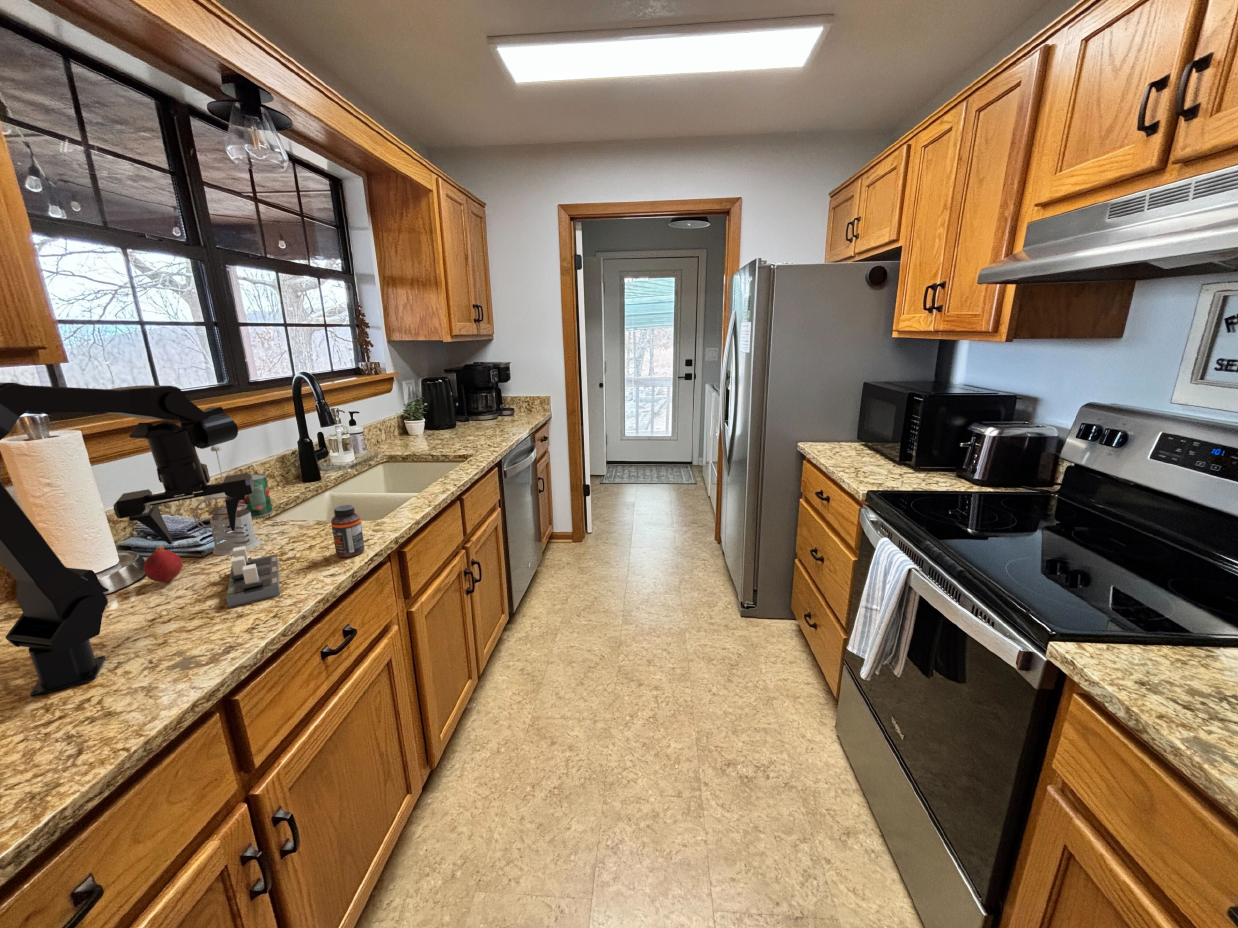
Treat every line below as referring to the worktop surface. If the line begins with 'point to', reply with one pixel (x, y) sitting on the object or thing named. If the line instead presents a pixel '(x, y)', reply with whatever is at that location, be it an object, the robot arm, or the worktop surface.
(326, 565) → the worktop surface
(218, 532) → the french press
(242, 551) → the far breaker handle
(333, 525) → the supplement bottle
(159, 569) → the onion
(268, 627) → the worktop surface
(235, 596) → the breaker panel
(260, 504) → the canned tomato
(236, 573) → the handle
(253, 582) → the breaker handle
